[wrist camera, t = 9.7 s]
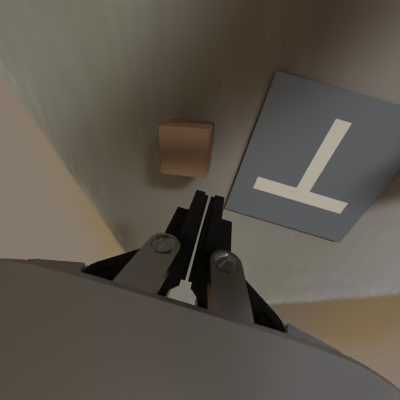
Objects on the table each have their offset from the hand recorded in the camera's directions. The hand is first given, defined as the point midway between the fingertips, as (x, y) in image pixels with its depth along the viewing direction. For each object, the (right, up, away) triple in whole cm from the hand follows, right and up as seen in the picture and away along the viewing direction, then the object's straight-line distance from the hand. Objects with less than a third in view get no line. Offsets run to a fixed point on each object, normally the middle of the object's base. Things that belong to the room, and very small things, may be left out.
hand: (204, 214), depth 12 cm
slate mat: (+16, +5, +16) cm, 23 cm away
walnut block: (-1, +9, +17) cm, 20 cm away
